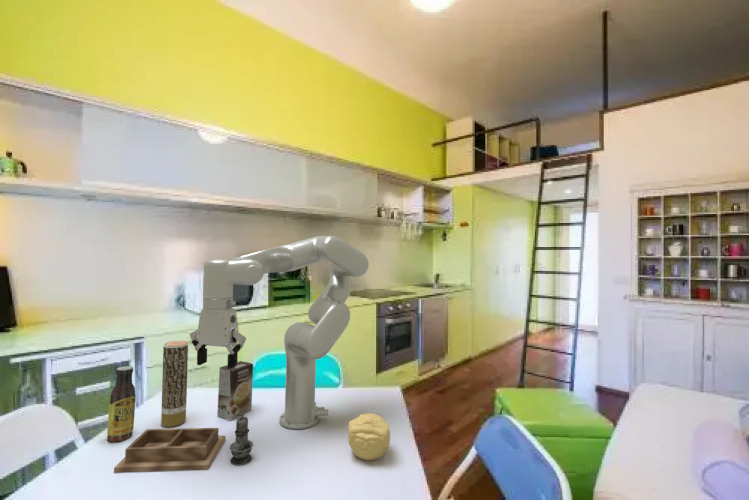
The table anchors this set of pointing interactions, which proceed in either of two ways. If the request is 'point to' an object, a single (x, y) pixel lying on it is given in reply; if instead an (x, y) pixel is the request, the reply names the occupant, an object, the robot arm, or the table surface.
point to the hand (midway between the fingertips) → (216, 365)
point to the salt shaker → (241, 443)
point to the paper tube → (174, 383)
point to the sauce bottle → (122, 406)
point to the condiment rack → (172, 450)
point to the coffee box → (235, 390)
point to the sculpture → (369, 436)
